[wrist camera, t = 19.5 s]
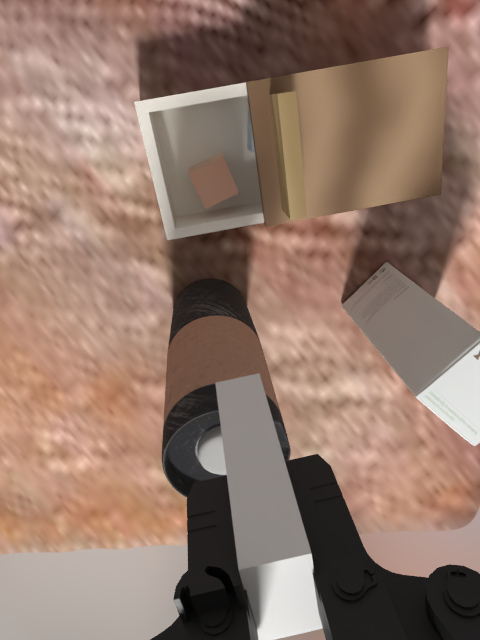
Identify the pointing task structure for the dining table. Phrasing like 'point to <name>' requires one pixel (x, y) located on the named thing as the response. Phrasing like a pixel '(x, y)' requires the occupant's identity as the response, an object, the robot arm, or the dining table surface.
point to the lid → (349, 135)
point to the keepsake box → (200, 157)
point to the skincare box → (423, 346)
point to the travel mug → (208, 379)
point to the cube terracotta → (213, 180)
